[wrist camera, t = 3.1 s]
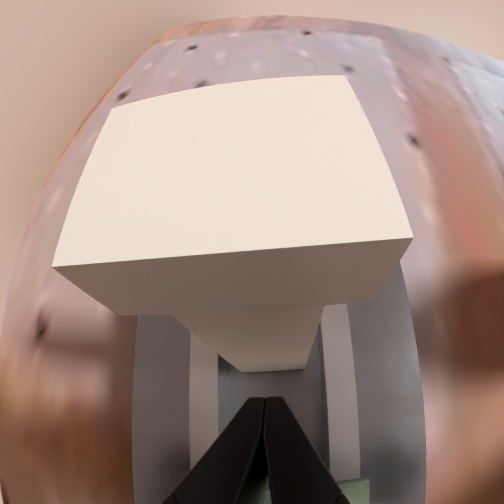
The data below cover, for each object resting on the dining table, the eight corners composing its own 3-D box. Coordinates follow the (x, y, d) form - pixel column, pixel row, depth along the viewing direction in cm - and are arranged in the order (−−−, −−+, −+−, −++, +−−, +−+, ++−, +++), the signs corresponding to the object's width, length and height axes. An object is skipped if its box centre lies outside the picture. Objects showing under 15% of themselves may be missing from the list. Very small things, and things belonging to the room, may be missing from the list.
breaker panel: (402, 497, 10) (441, 523, 6) (161, 506, 11) (115, 532, 7) (363, 205, 18) (378, 148, 14) (173, 222, 19) (144, 171, 15)
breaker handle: (320, 372, 11) (414, 237, 2) (226, 377, 11) (51, 266, 3) (314, 303, 12) (344, 75, 4) (226, 310, 13) (112, 107, 4)
